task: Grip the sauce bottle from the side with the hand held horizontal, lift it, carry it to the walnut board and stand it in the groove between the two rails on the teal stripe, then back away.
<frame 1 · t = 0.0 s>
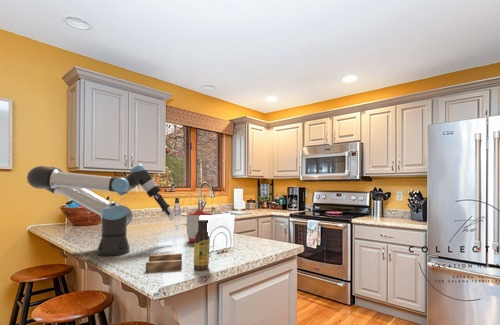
hand: (173, 217, 166), 15 cm above the counter, tool tilted 35°, fingers open, 13 cm apart
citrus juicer: (200, 241, 175), on the counter
sauce bottle: (201, 268, 118), on the counter
groove board: (164, 265, 122), on the counter
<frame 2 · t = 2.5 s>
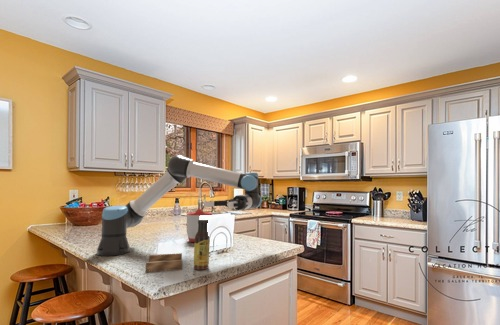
hand: (216, 205, 129), 26 cm above the counter, tool horizontal, fingers open, 13 cm apart
nothing on the counter moved.
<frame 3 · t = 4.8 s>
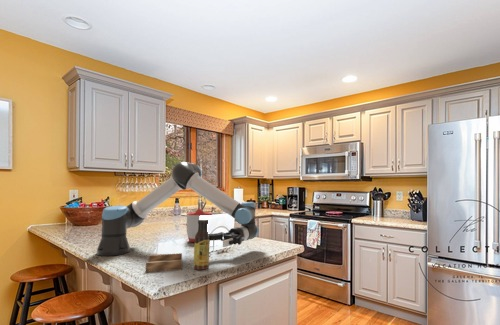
hand: (210, 242, 123), 10 cm above the counter, tool horizontal, fingers open, 13 cm apart
nothing on the counter moved.
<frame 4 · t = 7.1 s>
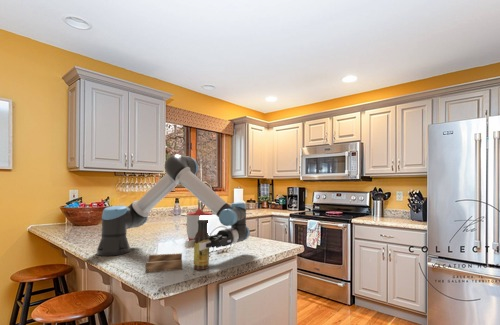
hand: (193, 245, 115), 10 cm above the counter, tool horizontal, fingers closed on sauce bottle, 6 cm apart
sauce bottle: (201, 268, 118), on the counter, touching gripper
everything else where it was.
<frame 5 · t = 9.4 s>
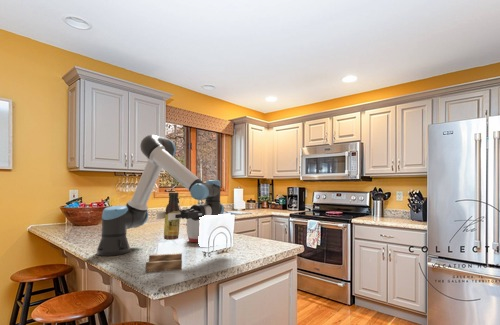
hand: (162, 216, 118), 22 cm above the counter, tool horizontal, fingers closed on sauce bottle, 6 cm apart
sauce bottle: (171, 239, 122), point 11 cm above the counter, touching gripper
everything else where it was.
when the fingers open (12 cm above the counter, at t = 11.8 s): sauce bottle drops 1 cm, resting on groove board.
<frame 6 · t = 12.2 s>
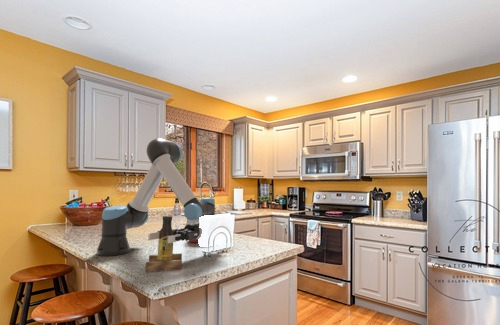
hand: (158, 238, 119), 12 cm above the counter, tool horizontal, fingers open, 11 cm apart
sauce bottle: (164, 263, 122), point 1 cm above the counter, touching groove board
everything else where it was.
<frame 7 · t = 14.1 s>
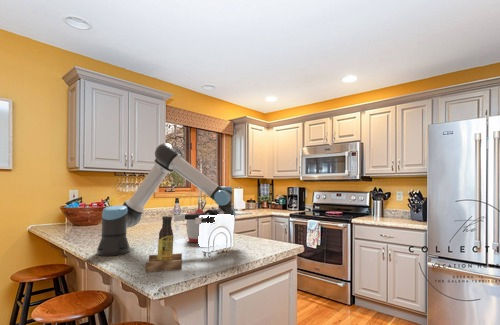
hand: (184, 219, 133), 18 cm above the counter, tool horizontal, fingers open, 13 cm apart
nothing on the counter moved.
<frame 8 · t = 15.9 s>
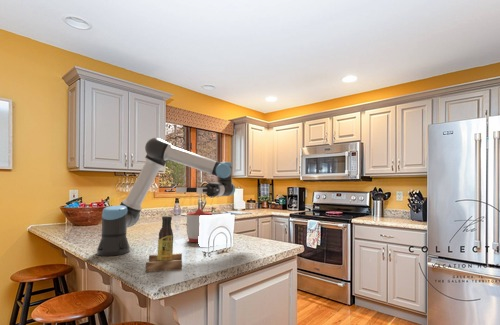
hand: (186, 190, 136), 32 cm above the counter, tool horizontal, fingers open, 13 cm apart
nothing on the counter moved.
at the end: sauce bottle inside the target area on the groove board (0.0 cm from its centre), point 0.9 cm above the groove board's base; sauce bottle tilted 0°; the gripper is holding nothing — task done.
